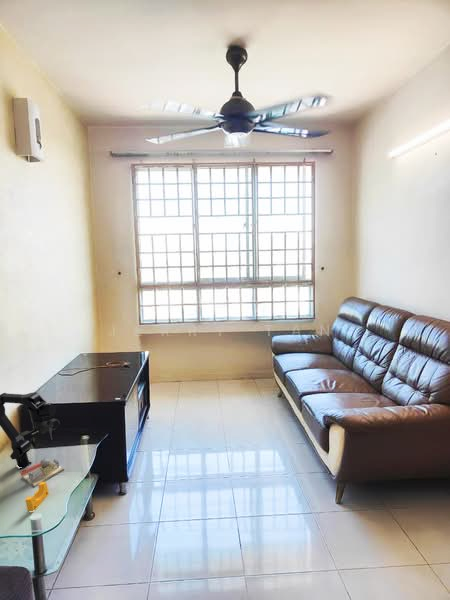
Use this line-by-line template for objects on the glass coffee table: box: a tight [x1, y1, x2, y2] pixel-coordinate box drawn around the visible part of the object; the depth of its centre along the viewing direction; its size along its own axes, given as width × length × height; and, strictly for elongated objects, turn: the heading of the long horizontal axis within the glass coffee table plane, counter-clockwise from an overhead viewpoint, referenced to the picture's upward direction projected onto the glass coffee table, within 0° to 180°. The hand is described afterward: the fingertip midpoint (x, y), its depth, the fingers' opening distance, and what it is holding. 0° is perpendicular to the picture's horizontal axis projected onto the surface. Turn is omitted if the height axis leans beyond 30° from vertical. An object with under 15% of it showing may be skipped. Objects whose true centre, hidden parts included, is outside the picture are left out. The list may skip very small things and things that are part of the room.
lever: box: [19, 457, 50, 477], centre depth 191 cm, size 14×4×2 cm, turn 132°
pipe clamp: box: [24, 481, 50, 512], centre depth 171 cm, size 12×4×6 cm, turn 175°
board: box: [21, 459, 65, 488], centre depth 196 cm, size 16×15×1 cm
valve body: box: [28, 458, 60, 482], centre depth 194 cm, size 6×14×4 cm, turn 139°
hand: (43, 443), depth 203 cm, fingers open, 9 cm apart
